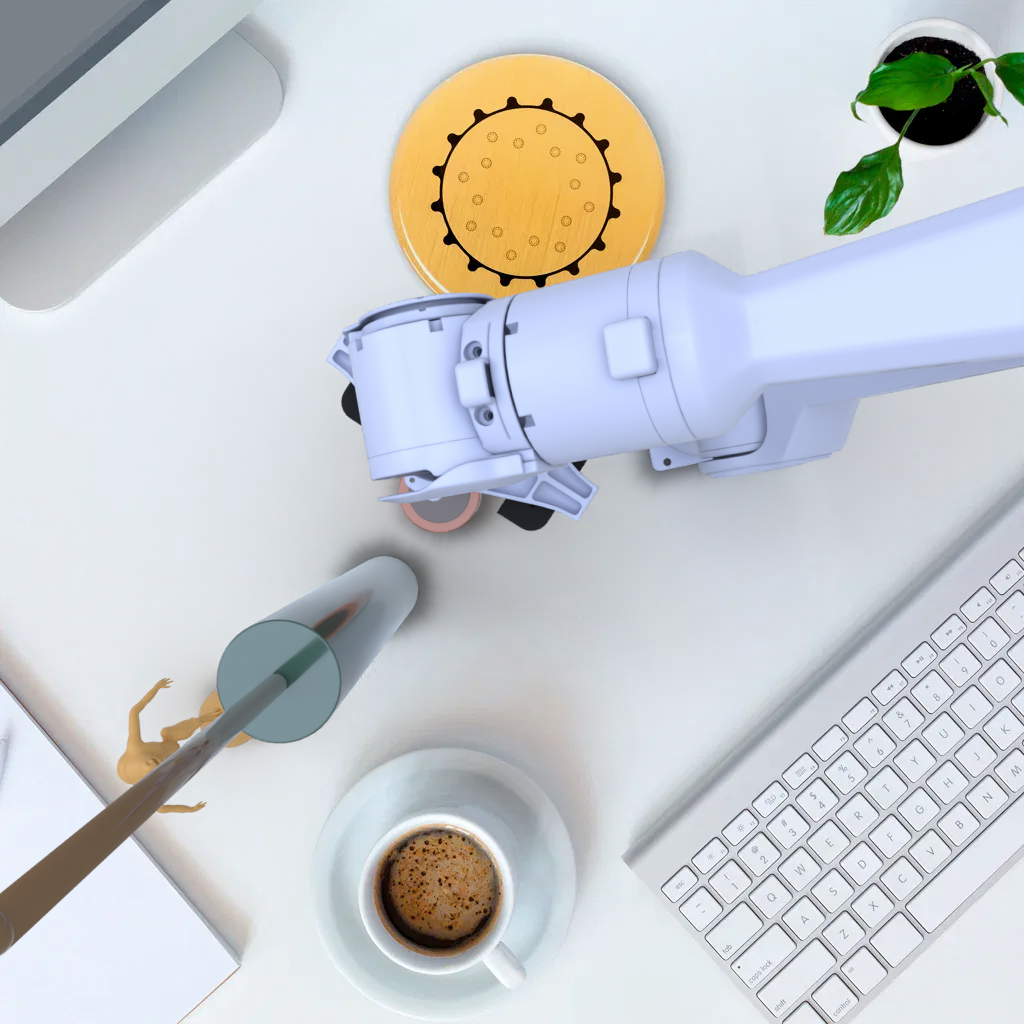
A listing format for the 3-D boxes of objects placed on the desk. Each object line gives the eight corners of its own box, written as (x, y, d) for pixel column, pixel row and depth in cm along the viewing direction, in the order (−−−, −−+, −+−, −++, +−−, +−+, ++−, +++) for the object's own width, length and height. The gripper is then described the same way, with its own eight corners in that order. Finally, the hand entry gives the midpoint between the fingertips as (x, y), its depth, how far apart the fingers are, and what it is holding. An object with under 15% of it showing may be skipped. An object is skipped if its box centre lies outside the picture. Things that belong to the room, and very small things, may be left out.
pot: (434, 440, 65) (426, 435, 59) (496, 480, 65) (495, 480, 59) (394, 502, 65) (382, 504, 59) (456, 542, 65) (451, 548, 59)
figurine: (282, 760, 65) (231, 823, 53) (198, 782, 65) (127, 850, 53) (250, 643, 65) (192, 680, 53) (165, 666, 65) (87, 707, 53)
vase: (410, 549, 65) (85, 774, 15) (424, 615, 65) (149, 1054, 15) (344, 563, 65) (-201, 834, 15) (358, 629, 65) (-134, 1114, 15)
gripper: (268, 405, 42) (328, 424, 55) (547, 583, 42) (538, 558, 56) (355, 269, 42) (393, 321, 55) (634, 448, 42) (604, 456, 55)
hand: (470, 433), depth 55 cm, fingers open, 7 cm apart
